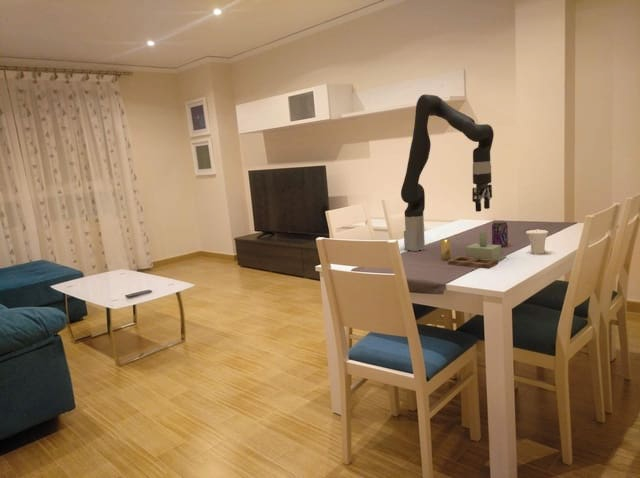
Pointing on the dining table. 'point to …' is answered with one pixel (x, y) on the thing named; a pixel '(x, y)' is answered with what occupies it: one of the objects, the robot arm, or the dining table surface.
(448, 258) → the brass pin
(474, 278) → the dining table surface
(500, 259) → the grey mat
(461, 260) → the walnut frame
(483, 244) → the green cover
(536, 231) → the cup
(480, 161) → the robot arm
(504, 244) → the beverage can
